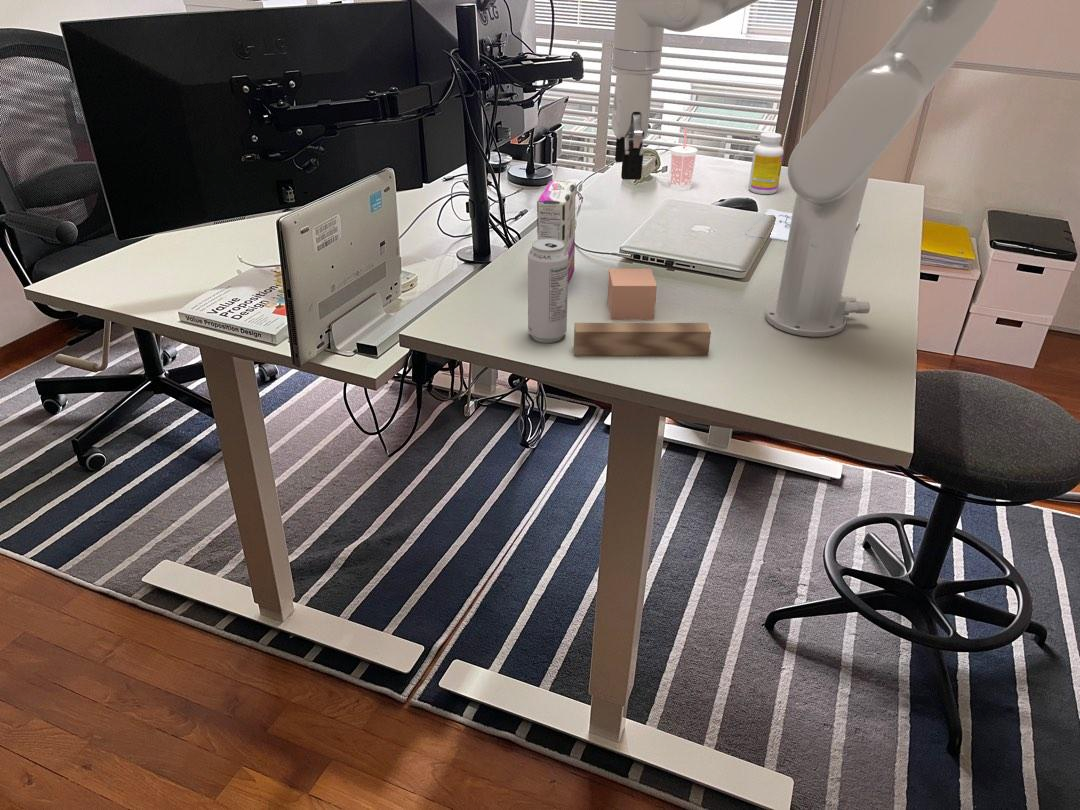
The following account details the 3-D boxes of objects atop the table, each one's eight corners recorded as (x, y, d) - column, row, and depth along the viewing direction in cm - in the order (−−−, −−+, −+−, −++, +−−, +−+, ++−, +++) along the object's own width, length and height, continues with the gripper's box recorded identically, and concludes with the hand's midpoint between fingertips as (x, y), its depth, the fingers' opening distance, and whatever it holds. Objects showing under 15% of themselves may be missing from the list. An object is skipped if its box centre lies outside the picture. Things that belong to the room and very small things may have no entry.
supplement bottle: (780, 195, 190) (789, 138, 184) (751, 195, 190) (759, 138, 184) (773, 186, 196) (782, 131, 189) (745, 186, 196) (753, 130, 189)
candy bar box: (548, 268, 152) (549, 179, 144) (574, 270, 152) (577, 181, 143) (535, 292, 143) (536, 199, 135) (564, 295, 142) (566, 201, 134)
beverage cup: (694, 185, 197) (700, 124, 189) (692, 192, 192) (698, 130, 184) (668, 183, 198) (673, 122, 190) (665, 190, 193) (671, 129, 185)
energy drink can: (544, 323, 133) (545, 234, 125) (574, 334, 130) (577, 243, 122) (520, 336, 129) (519, 244, 121) (550, 348, 126) (551, 254, 118)
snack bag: (843, 255, 160) (845, 245, 159) (741, 237, 168) (742, 227, 167) (861, 226, 175) (863, 216, 173) (766, 211, 183) (767, 201, 182)
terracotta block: (648, 301, 140) (651, 268, 137) (653, 320, 135) (656, 285, 131) (607, 301, 140) (609, 268, 137) (610, 320, 134) (612, 285, 131)
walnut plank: (704, 346, 126) (707, 322, 124) (708, 355, 124) (711, 331, 122) (573, 346, 126) (574, 322, 124) (574, 355, 124) (575, 331, 122)
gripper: (607, 50, 136) (600, 155, 145) (618, 70, 121) (610, 186, 130) (652, 51, 136) (643, 155, 145) (669, 71, 121) (657, 186, 130)
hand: (627, 170), depth 138 cm, fingers open, 9 cm apart
